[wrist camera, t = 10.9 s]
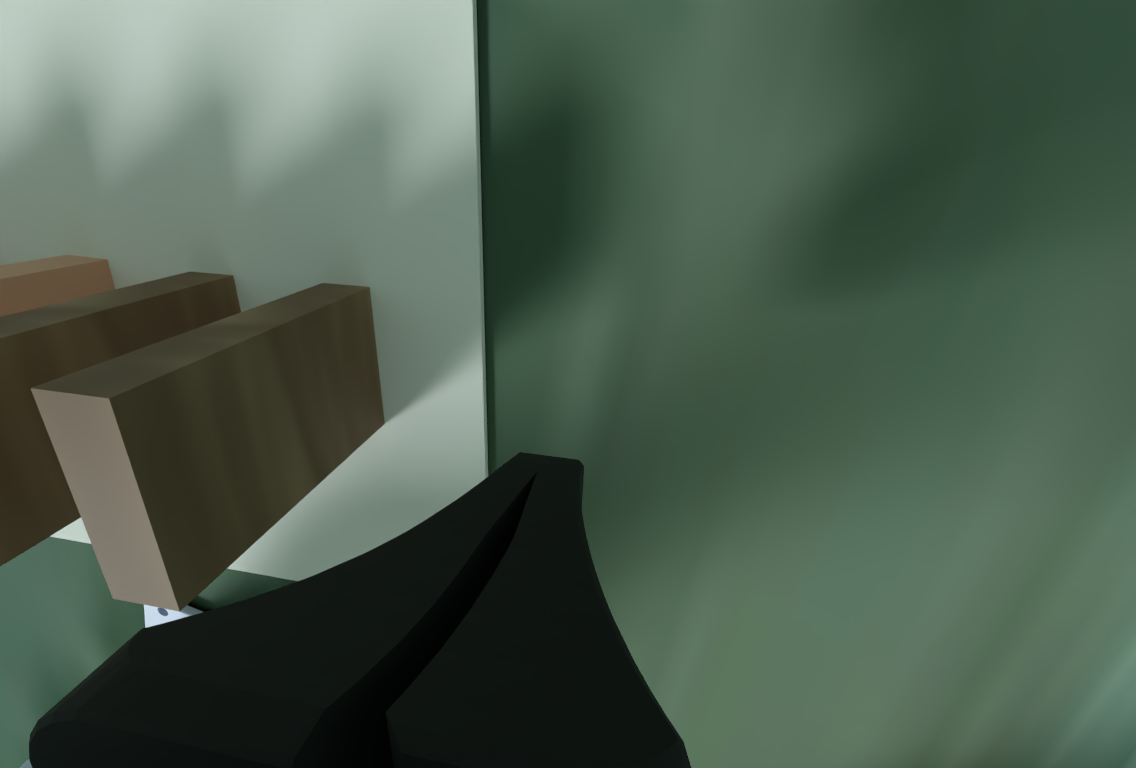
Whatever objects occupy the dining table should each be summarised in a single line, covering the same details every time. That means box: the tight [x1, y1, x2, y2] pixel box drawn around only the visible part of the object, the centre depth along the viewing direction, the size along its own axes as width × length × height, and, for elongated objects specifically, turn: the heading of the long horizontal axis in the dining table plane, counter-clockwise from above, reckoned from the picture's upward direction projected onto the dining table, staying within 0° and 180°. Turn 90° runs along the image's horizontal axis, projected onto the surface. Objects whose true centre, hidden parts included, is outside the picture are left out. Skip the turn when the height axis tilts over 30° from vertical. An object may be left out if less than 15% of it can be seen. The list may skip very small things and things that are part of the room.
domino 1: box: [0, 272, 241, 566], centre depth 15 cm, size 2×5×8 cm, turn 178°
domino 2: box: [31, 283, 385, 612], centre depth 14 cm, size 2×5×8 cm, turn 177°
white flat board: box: [0, 0, 488, 581], centre depth 19 cm, size 28×21×1 cm
